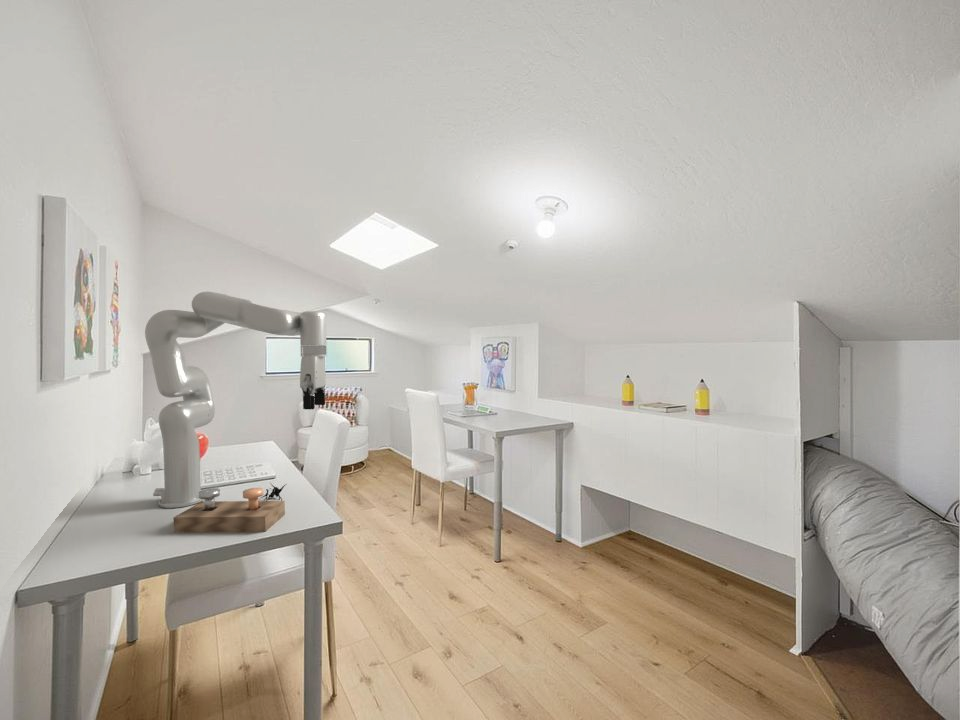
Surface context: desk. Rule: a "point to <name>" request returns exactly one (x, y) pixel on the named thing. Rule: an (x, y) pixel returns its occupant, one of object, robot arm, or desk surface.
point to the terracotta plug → (253, 497)
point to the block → (230, 517)
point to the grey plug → (209, 497)
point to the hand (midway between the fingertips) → (314, 407)
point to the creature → (273, 493)
